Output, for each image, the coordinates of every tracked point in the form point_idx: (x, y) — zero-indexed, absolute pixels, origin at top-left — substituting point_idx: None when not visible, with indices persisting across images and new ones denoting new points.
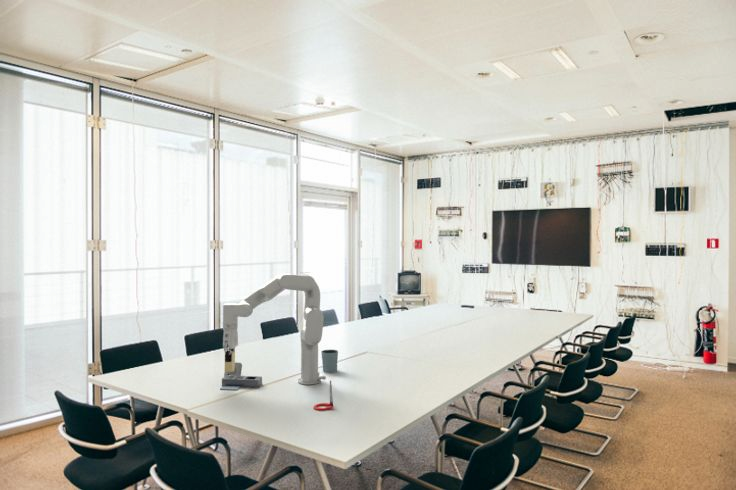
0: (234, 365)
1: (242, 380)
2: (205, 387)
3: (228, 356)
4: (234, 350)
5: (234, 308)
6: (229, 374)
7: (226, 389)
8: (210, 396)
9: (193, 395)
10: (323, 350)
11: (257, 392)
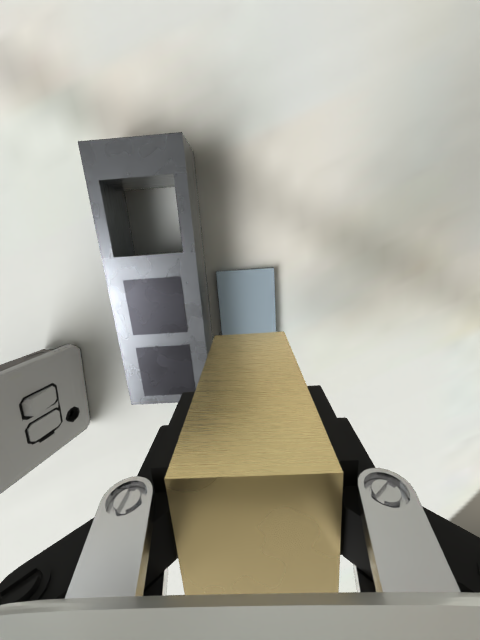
0: (217, 351)
1: (197, 264)
2: None
3: (369, 465)
4: (116, 509)
5: None
6: (67, 411)
7: (275, 327)
8: (393, 357)
9: (381, 438)
10: None
11: (295, 105)
